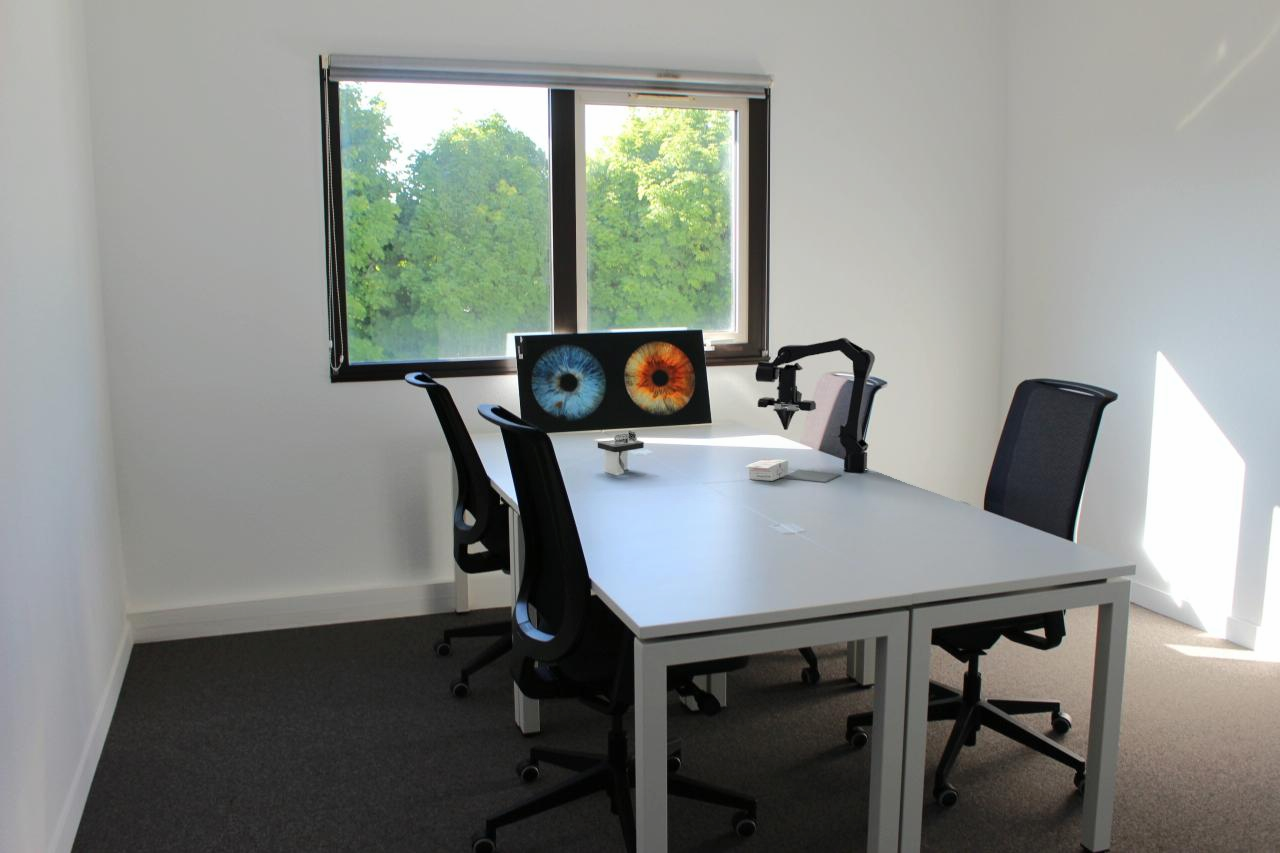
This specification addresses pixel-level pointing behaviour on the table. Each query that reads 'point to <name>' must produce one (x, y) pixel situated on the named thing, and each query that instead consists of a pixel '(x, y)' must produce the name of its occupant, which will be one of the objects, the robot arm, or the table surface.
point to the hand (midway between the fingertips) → (785, 429)
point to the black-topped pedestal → (619, 452)
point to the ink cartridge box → (768, 469)
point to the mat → (811, 476)
